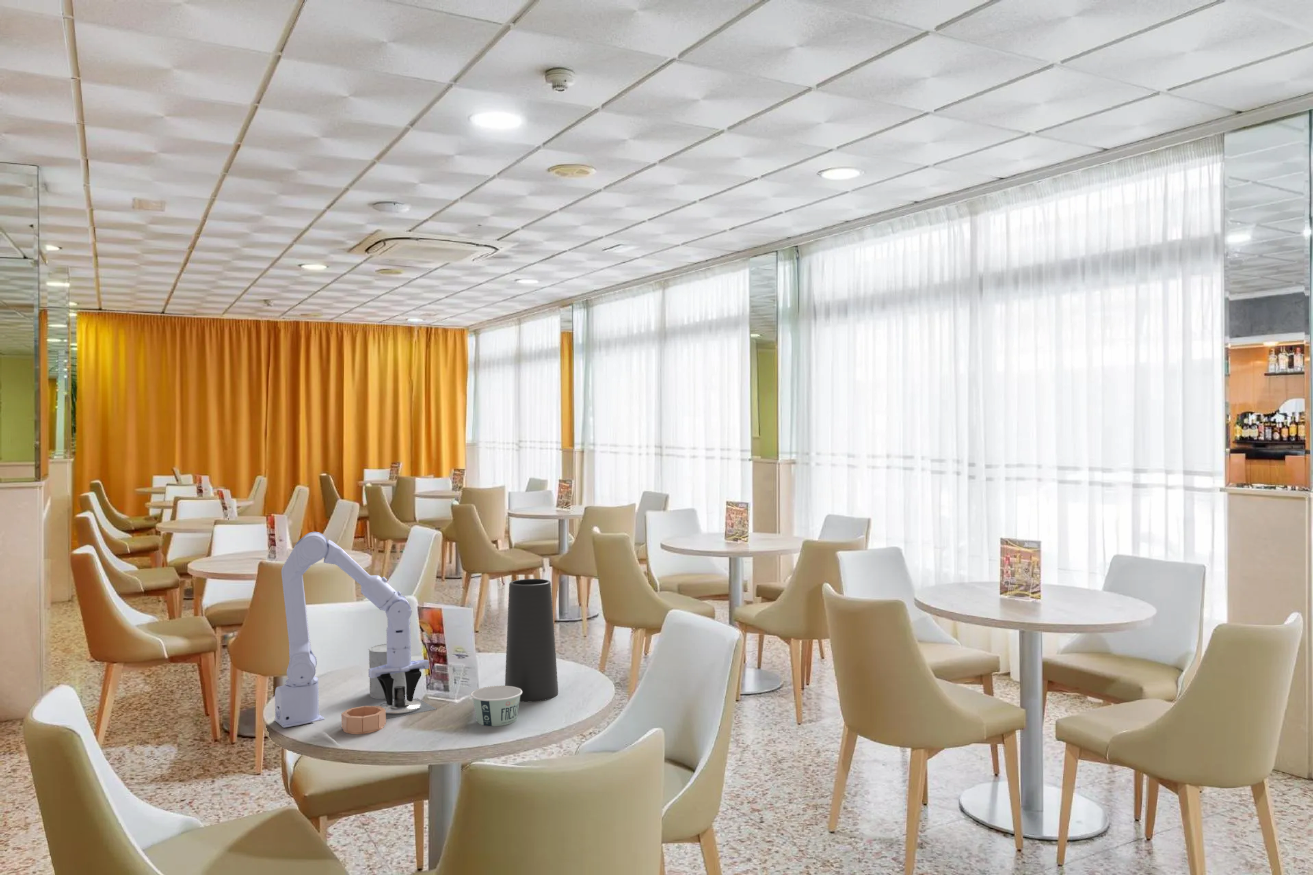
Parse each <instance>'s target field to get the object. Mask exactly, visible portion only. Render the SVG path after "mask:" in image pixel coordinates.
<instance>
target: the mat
mask: <svg viewBox="0 0 1313 875" xmlns="http://www.w3.org/2000/svg"><path fill="white" fill-rule="evenodd" d="M413 700H416V701H419V702H420V703H421V708H420V709H419V710H417V711H415V712H411V713H407V714H400V715H387V714H386V720H388V719H394V718H395V719H396V718H399V717H404V716H410V715H415V714H419V713H423V712H424V713H425V712H429V711H435V710H437V708H436V707H434V706H433V705H431V704H429V703H427V702H425V701H424V700H422V699H420V698H418V697H416V698H413ZM379 705H380V704H379ZM379 705H378V704H377V706H379Z"/></svg>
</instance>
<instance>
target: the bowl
mask: <svg viewBox="0 0 1313 875" xmlns="http://www.w3.org/2000/svg"><path fill="white" fill-rule="evenodd" d="M340 714H341V718H340V719H341V728H342V731H343V732H344V733H346V734H350V735H351V734H352V735H363V734H364V735H365V734H371V733H375V732H378V731H380V730H383V728H384V727H385V725H386V724H387V719H386V710H385V709H384V708H382V707H381V706H378V705H362V706H357V707H350V708H348V709H346V710H344V711H343V712H342V713H340Z"/></svg>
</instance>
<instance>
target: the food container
mask: <svg viewBox="0 0 1313 875" xmlns="http://www.w3.org/2000/svg"><path fill="white" fill-rule="evenodd" d="M521 694H522V690H521V689H520V688H517V687H513V686H505V685H492V686H491V685H490V686H486V687H480V688H478V689H477V688H476V689H475V690H473V691H471V693H470V697H471V698H472V701H473V707H474V713H475V718H476V723H477V724H479V725H481V726H487V727H500V726H507V725H510V724H513V723H515V722H516V721H517V719H518V713H519V705H520V702H521V701H520V695H521Z"/></svg>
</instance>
